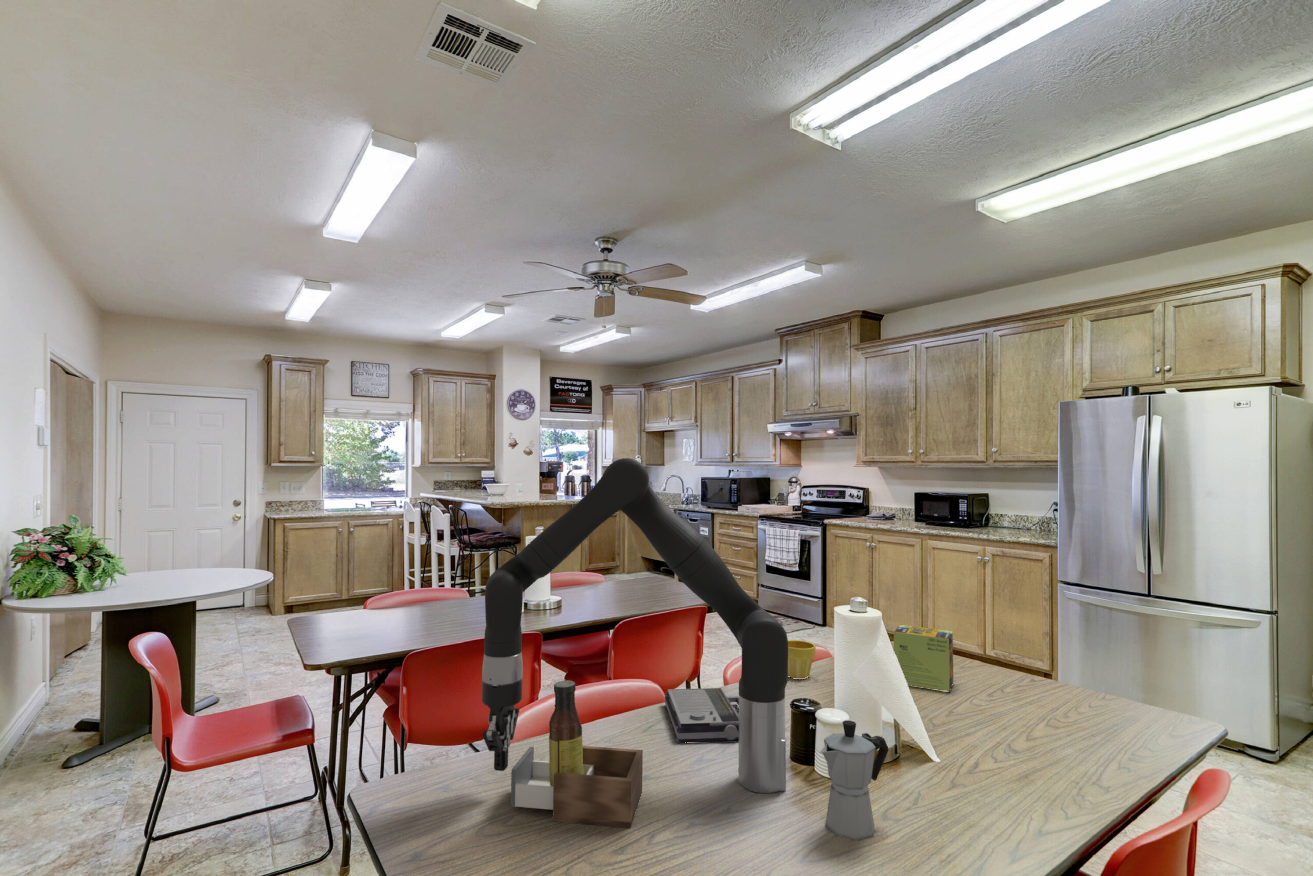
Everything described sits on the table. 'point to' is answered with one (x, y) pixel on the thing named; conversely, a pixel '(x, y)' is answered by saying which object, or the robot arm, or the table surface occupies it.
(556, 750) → the sauce bottle
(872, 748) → the coffee maker
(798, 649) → the plant pot
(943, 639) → the protein box
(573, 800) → the caddy
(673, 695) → the radio
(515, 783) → the tray
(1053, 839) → the table surface
